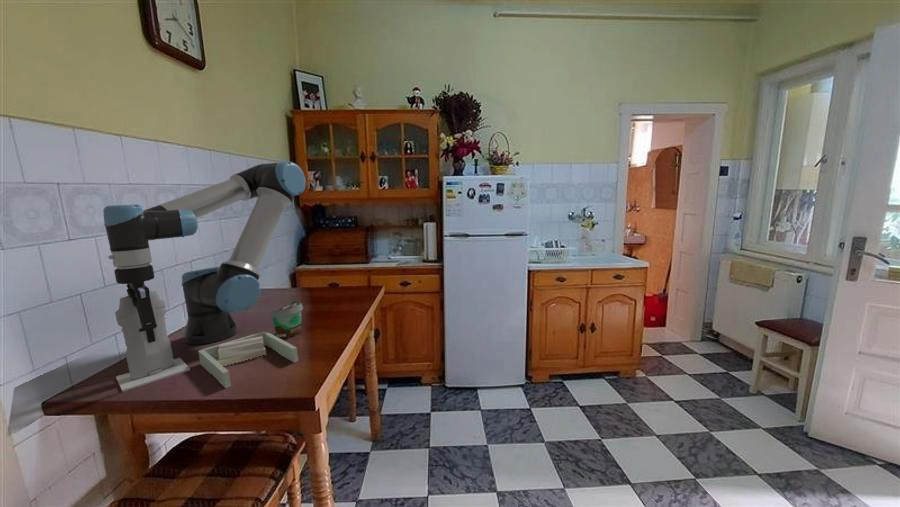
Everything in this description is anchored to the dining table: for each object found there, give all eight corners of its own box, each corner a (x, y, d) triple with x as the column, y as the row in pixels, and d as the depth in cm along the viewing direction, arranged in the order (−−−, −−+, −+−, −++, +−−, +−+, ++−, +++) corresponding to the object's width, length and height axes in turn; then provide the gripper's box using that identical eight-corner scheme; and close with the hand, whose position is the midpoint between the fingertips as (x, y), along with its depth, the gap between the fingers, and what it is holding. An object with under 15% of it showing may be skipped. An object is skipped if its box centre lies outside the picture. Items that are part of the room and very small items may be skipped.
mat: (116, 378, 98) (115, 376, 98) (180, 359, 108) (179, 357, 108) (122, 392, 90) (122, 390, 90) (190, 370, 100) (189, 368, 100)
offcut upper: (220, 352, 106) (219, 344, 106) (263, 344, 111) (262, 336, 111) (219, 359, 102) (217, 350, 102) (263, 350, 107) (262, 341, 107)
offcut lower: (216, 362, 106) (215, 354, 105) (262, 350, 113) (261, 342, 113) (218, 370, 101) (217, 361, 101) (266, 356, 108) (265, 348, 108)
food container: (291, 341, 117) (287, 311, 116) (274, 341, 119) (270, 311, 117) (312, 327, 129) (309, 299, 128) (297, 327, 130) (293, 299, 129)
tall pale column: (132, 382, 94) (115, 298, 90) (125, 379, 96) (108, 296, 92) (179, 365, 103) (165, 287, 99) (172, 362, 105) (158, 286, 101)
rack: (200, 364, 104) (198, 350, 103) (267, 342, 117) (265, 330, 117) (225, 388, 90) (223, 372, 89) (298, 361, 103) (296, 347, 102)
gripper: (108, 264, 99) (123, 342, 103) (120, 274, 84) (138, 365, 87) (143, 259, 105) (157, 333, 108) (161, 268, 89) (176, 354, 93)
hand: (148, 348), depth 98 cm, fingers open, 10 cm apart
